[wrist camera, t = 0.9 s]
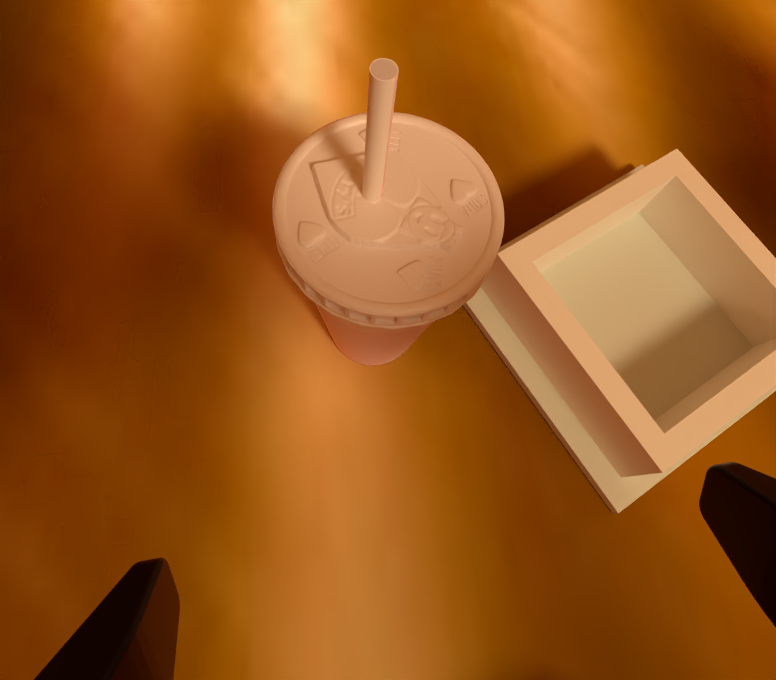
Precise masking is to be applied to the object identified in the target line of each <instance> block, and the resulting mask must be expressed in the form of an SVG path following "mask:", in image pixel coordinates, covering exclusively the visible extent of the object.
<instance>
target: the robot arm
mask: <svg viewBox="0 0 776 680" xmlns="http://www.w3.org/2000/svg"><path fill="white" fill-rule="evenodd" d="M699 507H700V511H701V514H702V516H703V518H704V519H705V521H706V523H707V524H708V526H709V527H710V529H711V531H712V532H713V534H714V535H715V537H716V539H717V540H718V542H719V543H720V545H721V547H722V548H723V550H724V551H725V553H726V555H727V556H728V558H729V559H730V561H731V563H732V564H733V566H734V567H735V569H736V571H737V572H738V574H739V575H740V577H741V579H742V580H743V582H744V583H745V585H746V587H747V588H748V590H749V591H750V593H751V594H752V596H753V597H754V599H755V600H756V601H757V603H758V604H759V606H760V607H761V608H762V610H763V611H764V613H765V614H766V615H767V617H768V618H769V619H770V621H771V622H772V623H773V625H774V626H775V627H776V479H775V478H773V477H770V476H768V475H765V474H763V473H761V472H758V471H756V470H753V469H751V468H748V467H746V466H744V465H741V464H738V463H734V462H729V463H723V464H717V465H713V466H711V467H710V468H709V469H708V470H707V472H706V476H705V480H704V484H703V488H702V492H701V496H700V500H699ZM179 612H180V601H179V595H178V591H177V588H176V585H175V582H174V579H173V576H172V573H171V570H170V567H169V564H168V562H167V561H166V560H165V559H164V558H156V559H151V560H145V561H140V562H137V563H136V564H134V565H133V566H132V567H131V568H130V569H129V571H128V572H127V573H126V574H125V575H124V576H123V577H122V579H121V580H120V581H119V582H118V583H117V584H116V586H115V587H114V588H113V589H112V590H111V591H110V593H109V594H108V595H107V596H106V597H105V598H104V599H103V601H102V602H101V603H100V604H99V605H98V606H97V608H96V609H95V610H94V611H93V612H92V613H91V614H90V616H89V617H88V618H87V619H86V620H85V621H84V623H83V624H82V625H81V626H80V627H79V628H78V629H77V631H76V632H75V633H74V634H73V635H72V636H71V638H70V639H69V640H68V641H67V642H66V643H65V644H64V646H63V647H62V648H61V649H60V650H59V651H58V653H57V654H56V655H55V656H54V657H53V658H52V659H51V661H50V662H49V663H48V664H47V665H46V666H45V668H44V669H43V670H42V671H41V672H40V673H39V674H38V676H37V677H36V678H35V679H34V680H173V677H174V666H175V655H176V645H177V634H178V623H179Z"/></svg>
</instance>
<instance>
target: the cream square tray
mask: <svg viewBox="0 0 776 680" xmlns="http://www.w3.org/2000/svg"><path fill="white" fill-rule="evenodd" d="M463 306H464V308H465V309H466V310H467V312H468V313H469V314H470V316H471V317H472V319H473V320H474V321H475V323H476V324H477V326H478V327H479V328H480V330H481V331H482V333H483V334H484V335H485V337H486V338H487V340H488V341H489V342H490V344H491V345H492V346H493V348H494V349H495V351H496V352H497V353H498V355H499V356H500V358H501V359H502V360H503V362H504V363H505V365H506V366H507V367H508V369H509V370H510V372H511V373H512V374H513V376H514V377H515V378H516V380H517V381H518V383H519V384H520V385H521V387H522V388H523V390H524V391H525V392H526V394H527V395H528V397H529V398H530V399H531V401H532V402H533V404H534V405H535V406H536V408H537V409H538V410H539V412H540V413H541V415H542V416H543V417H544V419H545V420H546V422H547V423H548V424H549V426H550V427H551V429H552V430H553V431H554V433H555V434H556V435H557V437H558V438H559V440H560V441H561V442H562V444H563V445H564V447H565V448H566V449H567V451H568V452H569V454H570V455H571V456H572V458H573V459H574V461H575V462H576V463H577V465H578V466H579V467H580V469H581V470H582V472H583V473H584V474H585V476H586V477H587V479H588V480H589V481H590V483H591V484H592V486H593V487H594V488H595V490H596V491H597V493H598V494H599V495H600V497H601V498H602V499H603V501H604V502H605V504H606V505H607V506H608V508H609V509H610V511H611V512H612V513H619V512H621V511H622V510H623V509H624V508H626V507H627V506H628V505H630V504H631V503H632V502H633V501H635V500H636V499H637V498H639V497H640V496H641V495H642V494H644V493H645V492H646V491H648V490H649V489H650V488H651V487H653V486H654V485H655V484H657V483H658V482H659V481H660V480H662V479H663V478H664V477H666V476H667V475H668V474H669V473H671V472H672V471H673V470H675V469H676V468H677V467H678V466H680V465H681V464H682V463H684V462H685V461H686V460H687V459H689V458H690V457H691V456H693V455H694V454H695V453H696V452H698V451H699V450H700V449H701V448H703V447H704V446H705V445H707V444H708V443H709V442H710V441H712V440H713V439H714V438H716V437H717V436H718V435H719V434H721V433H722V432H723V431H725V430H726V429H727V428H728V427H730V426H731V425H732V424H734V423H735V422H736V421H737V420H739V419H740V418H741V417H743V416H744V415H745V414H746V413H748V412H749V411H750V410H752V409H753V408H754V407H755V406H757V405H758V404H759V403H761V402H762V401H763V400H764V399H766V398H767V397H768V396H770V395H771V394H772V393H773V392H775V391H776V258H775V257H774V256H773V255H772V254H771V253H770V251H769V250H768V249H767V248H766V247H765V246H764V245H763V244H762V243H761V241H760V240H759V239H758V238H757V237H756V236H755V235H754V234H753V232H752V231H751V230H750V229H749V228H748V227H747V226H746V225H745V224H744V222H743V221H742V220H741V219H740V218H739V217H738V216H737V215H736V214H735V212H734V211H733V210H732V209H731V208H730V207H729V206H728V205H727V204H726V202H725V201H724V200H723V199H722V198H721V197H720V196H719V195H718V194H717V192H716V191H715V190H714V189H713V188H712V187H711V186H710V185H709V183H708V182H707V181H706V180H705V179H704V178H703V177H702V176H701V175H700V173H699V172H698V171H697V170H696V169H695V168H694V167H693V166H692V165H691V163H690V162H689V161H688V160H687V159H686V158H685V157H684V156H683V155H682V153H681V152H680V151H679V150H678V149H675V150H674V151H672V152H670V153H669V154H667V155H665V156H663V157H662V158H660V159H658V160H657V161H655V162H653V163H651V164H650V165H648V166H646V167H644V165H643V164H642V165H640V166H638V167H637V168H635V169H633V170H632V171H630V172H628V173H626V174H625V175H623V176H621V177H620V178H618V179H616V180H614V181H613V182H611V183H609V184H608V185H606V186H604V187H602V188H601V189H599V190H597V191H596V192H594V193H592V194H590V195H589V196H587V197H585V198H584V199H582V200H580V201H578V202H577V203H575V204H573V205H572V206H570V207H568V208H566V209H565V210H563V211H561V212H560V213H558V214H556V215H554V216H553V217H551V218H549V219H547V220H546V221H544V222H542V223H541V224H539V225H537V226H535V227H534V228H532V229H530V230H529V231H527V232H525V233H523V234H522V235H520V236H518V237H517V238H515V239H513V240H511V241H510V242H508V243H506V244H505V245H503V246H501V247H500V248H499V251H498V253H497V256H496V258H495V260H494V262H493V265H492V268H491V271H490V274H489V276H488V277H487V278H486V280H485V281H484V283H483V284H482V285H481V287H480V288H479V290H478V291H477V292H476V294H475V295H474V297H472V298H471V299H470V300H469V301H467V302H466V303H465V304H463Z"/></svg>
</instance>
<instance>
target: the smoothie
mask: <svg viewBox="0 0 776 680" xmlns="http://www.w3.org/2000/svg"><path fill="white" fill-rule="evenodd" d="M397 78H398V66H397V65H396V63H395V62H393V61H392V60H390V59H387V58H379V59H376V60H374V61H373V62H372V63H371V65H370V71H369V88H368V105H367V113H362V114H356V115H352V116H348V117H345V118H342V119H339V120H336V121H334V122H332V123H329V124H327V125H325V126H324V127H322V128H320V129H318V130H317V131H315V132H314V133H312V134H311V135H310V136H309V137H307V138H306V139H305V140H304V141H303V142H302V143H301V144H300V145H299V146H298V147H297V148H296V149H295V150H294V151H293V152H292V154H291V155H290V156H289V158H288V159H287V161H286V162H285V164H284V166H283V168H282V170H281V172H280V174H279V177H278V179H277V182H276V186H275V190H274V195H273V207H272V214H273V224H274V229H275V237H276V245H277V250H278V253H279V255H280V257H281V259H282V262H283V264H284V266H285V268H286V271H287V273H288V275H289V276H290V278H291V279H292V280H293V281H294V282H295V284H296V285H297V286H298V287H299V288H300V290H301V291H302V292H303V293H304V294H305V296H306V297H307V298H308V299H310V300H311V301H313V302H314V303H315V305H316V307H317V309H318V311H319V313H320V315H321V317H322V319H323V321H324V323H325V325H326V327H327V329H328V331H329V333H330V335H331V337H332V339H333V341H334V343H335V345H336V346H337V348H338V349H339V350H340V351H341V352H342V353H343V354H344V355H345V356H346V357H348V358H349V359H351V360H352V361H355V362H357V363H360V364H364V365H381V364H385V363H388V362H391V361H393V360H395V359H396V358H398V357H399V356H400V355H401V354H402V353H403V352H404V351H405V350H406V349H407V348H408V347H409V346H410V345H411V344H412V343H413V342H414V341H415V340H416V339H417V338H418V337H419V336H420V335H421V334H422V333H423V332H424V331H425V330H426V329H427V327H428V326H429V325H430V324H431V323H432V322H434V321H436V320H438V319H441V318H443V317H446V316H448V315H450V314H452V313H453V312H454V311H456V310H457V309H458V308H460V307H461V306H462V305H463V304H465V303H466V302H467V301H469V300H470V299H471V298H472V297H474V295H475V294H476V292H477V291H478V290H479V288H480V287H481V285H482V284H483V283H484V281H485V280H486V278H487V277H488V276H489V274H490V271H491V268H492V265H493V262H494V260H495V258H496V256H497V253H498V251H499V248H500V245H501V242H502V237H503V232H504V207H503V200H502V196H501V192H500V190H499V187H498V184H497V182H496V180H495V177H494V175H493V173H492V172H491V170H490V168H489V167H488V165H487V164H486V162H485V161H484V160H483V158H482V157H481V156H480V155H479V154H478V153H477V151H476V150H475V149H474V148H473V147H472V146H471V145H469V144H468V143H467V142H466V141H465V140H464V139H462V138H461V137H460V136H458V135H457V134H455V133H454V132H452V131H451V130H449V129H447V128H445V127H443V126H442V125H440V124H437V123H435V122H433V121H430V120H427V119H424V118H422V117H418V116H414V115H410V114H404V113H397V112H393V111H394V102H395V94H396V86H397Z"/></svg>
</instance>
